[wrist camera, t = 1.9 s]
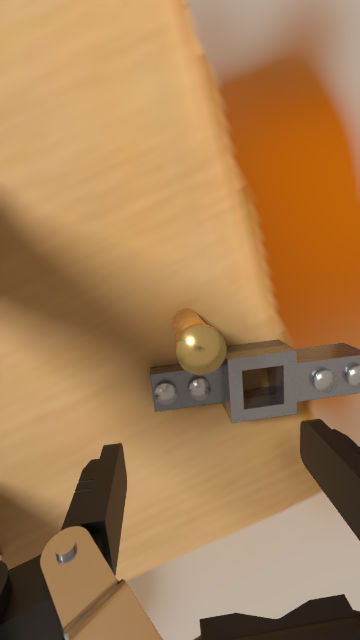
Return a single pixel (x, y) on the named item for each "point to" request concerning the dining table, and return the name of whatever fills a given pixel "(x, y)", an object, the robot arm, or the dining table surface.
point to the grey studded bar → (283, 376)
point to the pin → (197, 343)
